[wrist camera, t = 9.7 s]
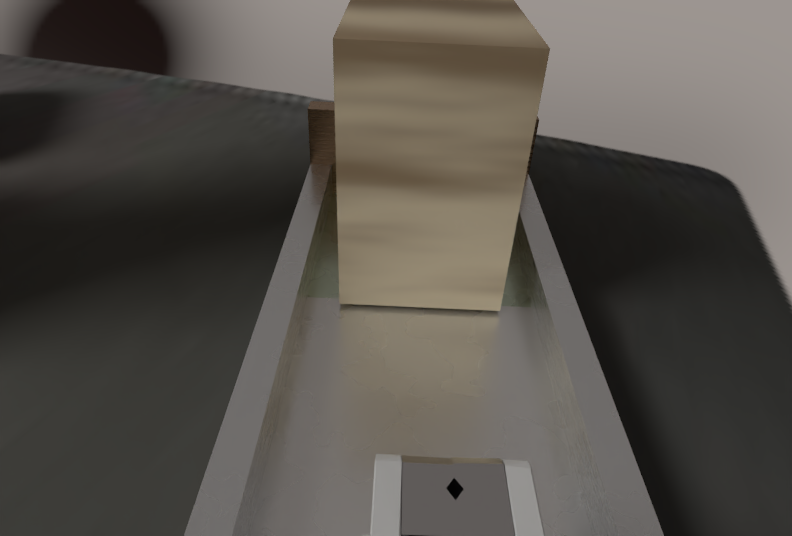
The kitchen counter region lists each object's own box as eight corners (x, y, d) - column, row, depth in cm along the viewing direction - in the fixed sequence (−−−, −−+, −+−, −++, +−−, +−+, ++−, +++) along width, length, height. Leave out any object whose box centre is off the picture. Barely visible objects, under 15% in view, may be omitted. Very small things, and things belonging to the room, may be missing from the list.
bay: (679, 738, 14) (790, 628, 10) (164, 716, 14) (97, 597, 10) (517, 206, 35) (535, 111, 31) (315, 197, 35) (311, 101, 31)
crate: (500, 310, 25) (549, 48, 18) (339, 303, 25) (332, 38, 18) (477, 195, 33) (505, -11, 27) (358, 189, 33) (358, -18, 27)
